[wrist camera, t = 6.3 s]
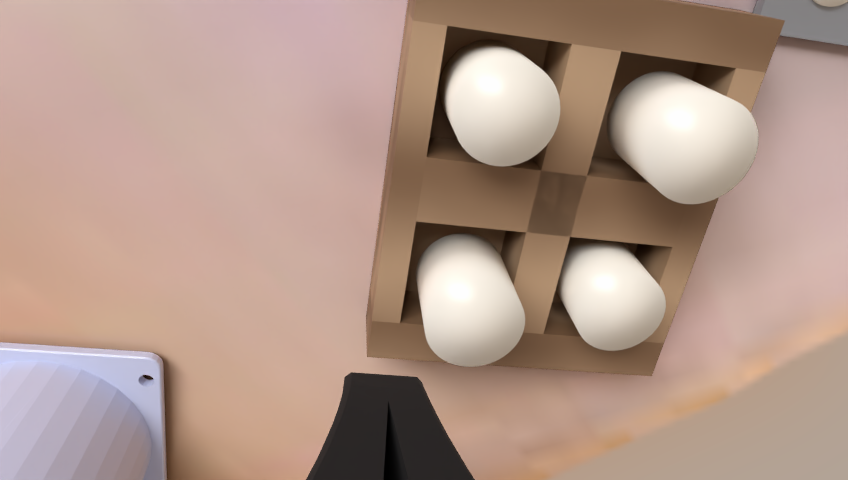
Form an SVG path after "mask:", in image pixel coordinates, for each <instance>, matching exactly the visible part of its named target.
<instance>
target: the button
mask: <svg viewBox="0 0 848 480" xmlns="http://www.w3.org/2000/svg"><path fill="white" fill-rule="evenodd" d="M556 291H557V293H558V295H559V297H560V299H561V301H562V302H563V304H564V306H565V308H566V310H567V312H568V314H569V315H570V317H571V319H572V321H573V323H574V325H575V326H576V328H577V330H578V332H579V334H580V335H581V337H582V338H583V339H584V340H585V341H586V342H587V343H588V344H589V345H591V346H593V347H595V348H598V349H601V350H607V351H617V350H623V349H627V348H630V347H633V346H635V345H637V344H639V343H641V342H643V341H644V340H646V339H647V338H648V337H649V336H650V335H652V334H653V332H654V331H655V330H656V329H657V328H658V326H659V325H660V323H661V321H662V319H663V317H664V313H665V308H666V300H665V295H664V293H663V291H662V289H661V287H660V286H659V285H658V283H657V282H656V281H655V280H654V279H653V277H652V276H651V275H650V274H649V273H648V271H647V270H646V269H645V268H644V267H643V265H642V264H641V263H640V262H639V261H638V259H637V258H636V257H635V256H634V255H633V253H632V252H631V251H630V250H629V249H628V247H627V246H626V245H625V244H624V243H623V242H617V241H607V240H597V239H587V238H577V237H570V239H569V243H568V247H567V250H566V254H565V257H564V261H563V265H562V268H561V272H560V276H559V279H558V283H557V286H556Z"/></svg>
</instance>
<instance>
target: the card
mask: <svg viewBox="0 0 848 480" xmlns="http://www.w3.org/2000/svg"><path fill="white" fill-rule="evenodd" d="M753 13H754V14H758V15H763V16H767V17H772V18H776V19H781V20H785V22H784V25H783V28H782V30H781V33H780V35H781V36H788V37H794V38H801V39H807V40H813V41H820V42H826V43H832V44H839V45H845V46H848V0H757V2H756V5H755V8H754V11H753Z"/></svg>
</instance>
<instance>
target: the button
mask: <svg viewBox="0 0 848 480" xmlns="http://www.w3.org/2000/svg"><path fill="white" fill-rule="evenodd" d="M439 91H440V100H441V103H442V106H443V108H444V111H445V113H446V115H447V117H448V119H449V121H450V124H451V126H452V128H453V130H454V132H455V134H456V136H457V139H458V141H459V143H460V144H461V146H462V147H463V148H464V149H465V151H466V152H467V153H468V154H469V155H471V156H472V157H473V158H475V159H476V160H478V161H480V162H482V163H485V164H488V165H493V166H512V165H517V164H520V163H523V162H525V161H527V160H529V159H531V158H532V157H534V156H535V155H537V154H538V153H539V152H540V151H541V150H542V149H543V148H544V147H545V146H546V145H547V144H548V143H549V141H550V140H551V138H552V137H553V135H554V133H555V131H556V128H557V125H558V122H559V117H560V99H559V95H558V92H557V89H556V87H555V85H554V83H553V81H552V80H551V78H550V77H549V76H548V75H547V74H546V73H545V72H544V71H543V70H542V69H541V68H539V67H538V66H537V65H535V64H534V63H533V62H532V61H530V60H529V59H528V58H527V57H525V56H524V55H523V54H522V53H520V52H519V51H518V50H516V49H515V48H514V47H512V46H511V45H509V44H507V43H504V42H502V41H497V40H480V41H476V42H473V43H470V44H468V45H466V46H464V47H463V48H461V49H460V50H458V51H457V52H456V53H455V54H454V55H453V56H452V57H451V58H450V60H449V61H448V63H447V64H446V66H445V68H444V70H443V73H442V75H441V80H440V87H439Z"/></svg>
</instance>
